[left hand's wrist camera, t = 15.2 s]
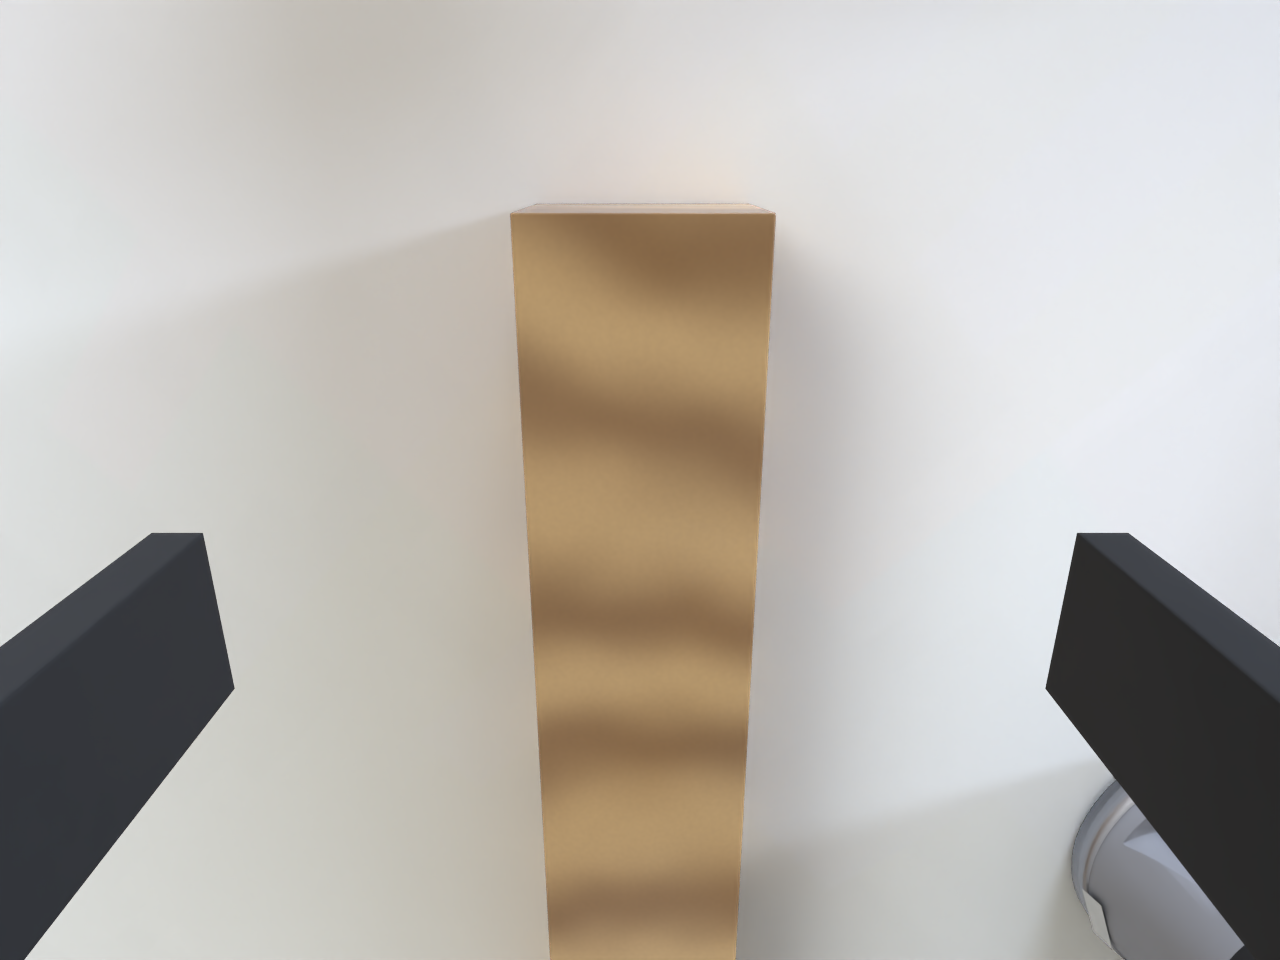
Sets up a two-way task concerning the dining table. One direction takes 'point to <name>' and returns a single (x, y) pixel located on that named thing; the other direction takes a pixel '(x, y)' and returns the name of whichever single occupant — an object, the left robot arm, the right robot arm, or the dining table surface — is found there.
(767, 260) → the brown striped wooden beam
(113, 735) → the left robot arm
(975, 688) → the dining table surface
